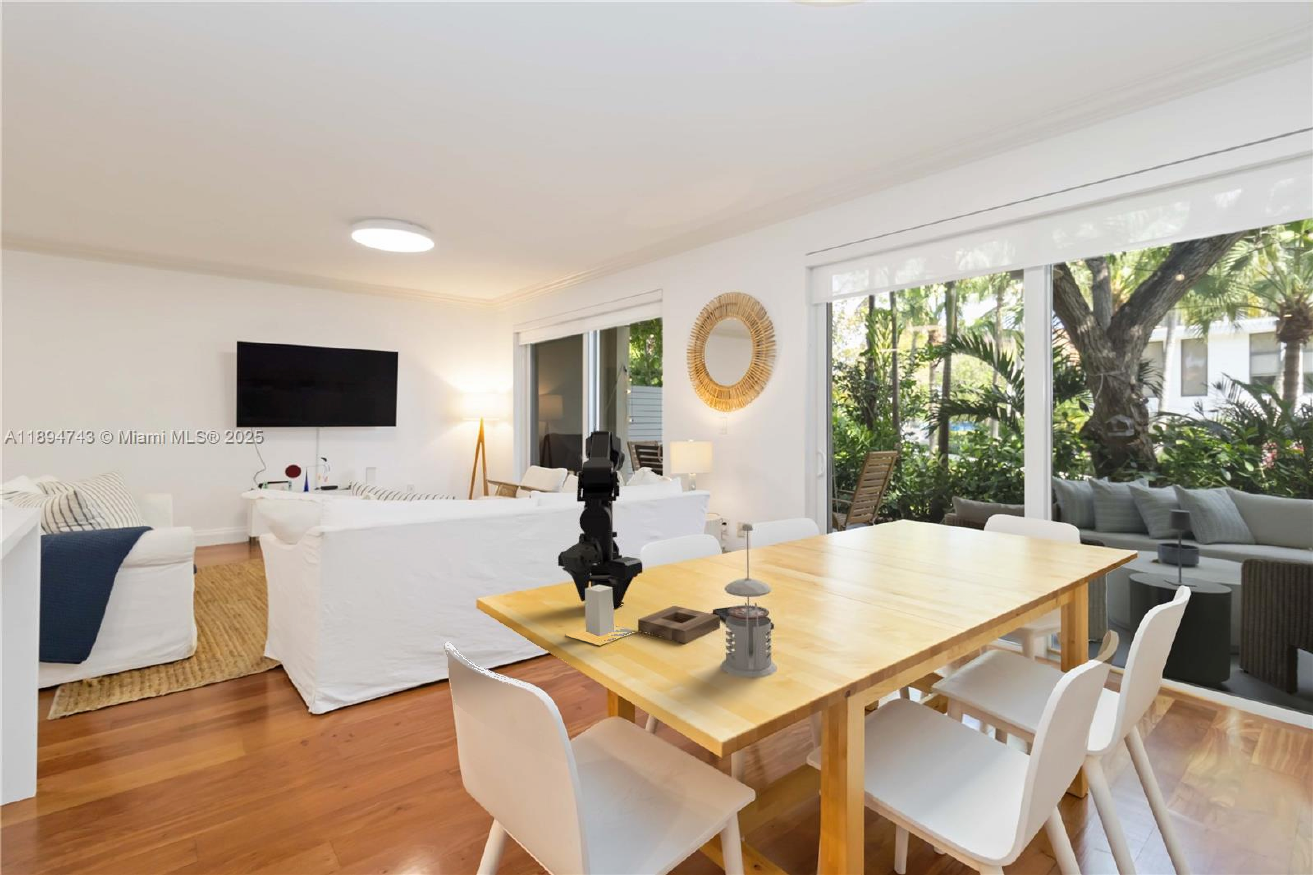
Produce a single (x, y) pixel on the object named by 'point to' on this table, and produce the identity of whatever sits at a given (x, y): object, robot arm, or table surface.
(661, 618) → the walnut square frame
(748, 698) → the table surface
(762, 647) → the french press
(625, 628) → the grey mat
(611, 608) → the cream block
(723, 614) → the phone
